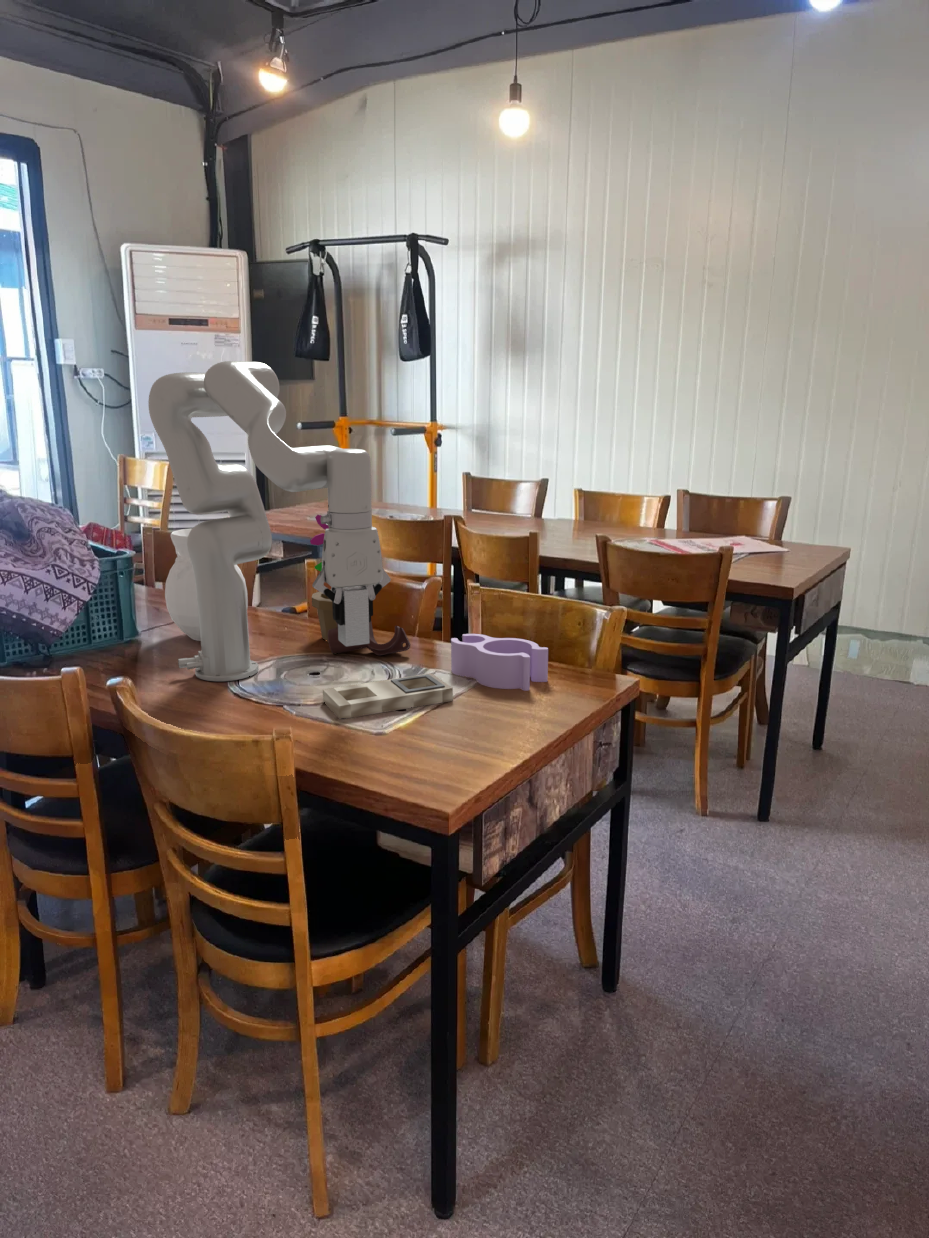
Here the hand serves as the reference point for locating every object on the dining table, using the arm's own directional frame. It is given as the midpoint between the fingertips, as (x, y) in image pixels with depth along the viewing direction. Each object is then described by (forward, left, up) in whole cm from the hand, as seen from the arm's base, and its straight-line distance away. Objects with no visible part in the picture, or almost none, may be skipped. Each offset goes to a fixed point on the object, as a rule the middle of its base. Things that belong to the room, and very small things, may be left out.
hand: (353, 620), depth 164 cm
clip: (+31, +4, -17) cm, 36 cm away
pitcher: (-15, +61, -16) cm, 65 cm away
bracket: (+14, +31, -17) cm, 38 cm away
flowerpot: (+13, +46, -16) cm, 50 cm away
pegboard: (+6, 0, -16) cm, 17 cm away
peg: (0, 0, -4) cm, 4 cm away
